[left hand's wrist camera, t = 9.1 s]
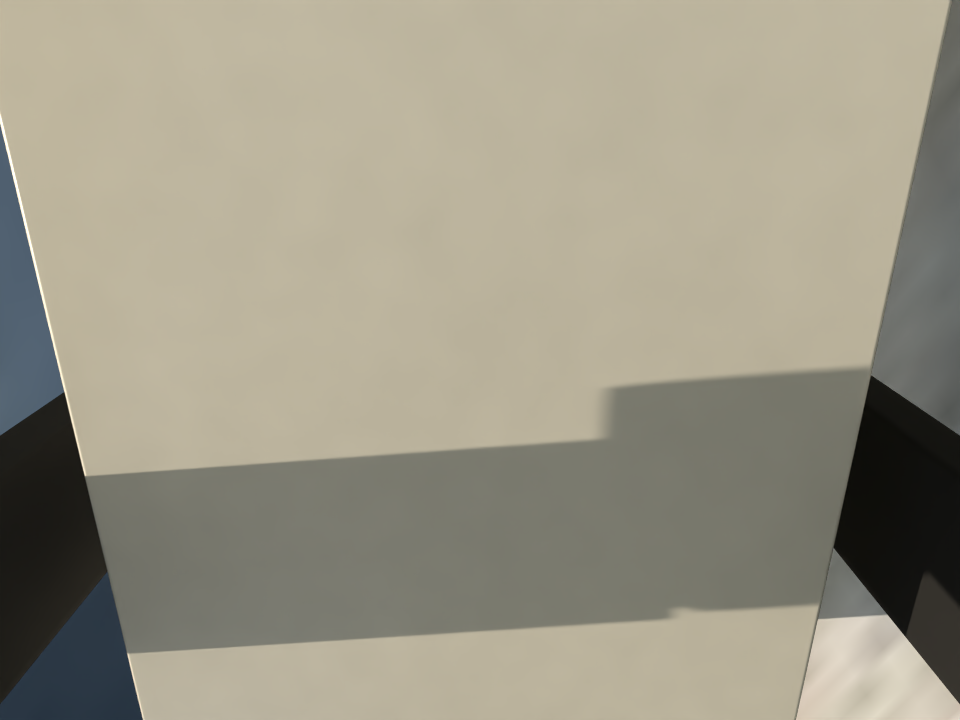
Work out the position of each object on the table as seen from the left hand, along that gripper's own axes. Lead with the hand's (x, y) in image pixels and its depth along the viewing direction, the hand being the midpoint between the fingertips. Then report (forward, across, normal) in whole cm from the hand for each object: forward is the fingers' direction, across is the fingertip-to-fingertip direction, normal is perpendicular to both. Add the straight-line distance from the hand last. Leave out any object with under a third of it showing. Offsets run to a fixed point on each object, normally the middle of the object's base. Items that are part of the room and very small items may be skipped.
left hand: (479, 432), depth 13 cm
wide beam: (+3, 0, -24) cm, 24 cm away
